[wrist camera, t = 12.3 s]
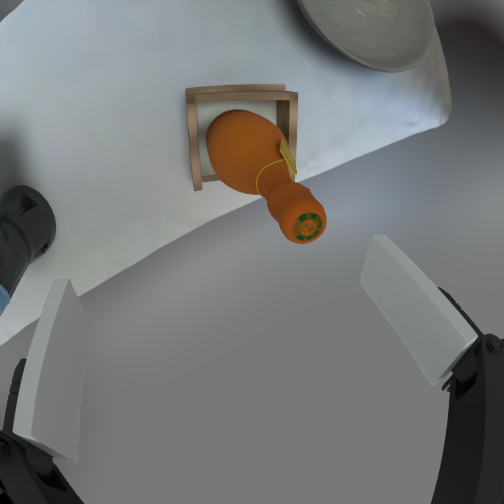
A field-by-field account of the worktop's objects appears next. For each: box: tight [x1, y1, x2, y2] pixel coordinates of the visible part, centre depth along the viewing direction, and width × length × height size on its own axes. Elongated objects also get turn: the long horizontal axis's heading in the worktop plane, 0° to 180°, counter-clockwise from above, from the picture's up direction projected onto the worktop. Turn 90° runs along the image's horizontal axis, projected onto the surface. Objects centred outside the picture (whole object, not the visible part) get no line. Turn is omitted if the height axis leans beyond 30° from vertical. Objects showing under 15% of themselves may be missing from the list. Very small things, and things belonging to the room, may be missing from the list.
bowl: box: [297, 0, 435, 72], centre depth 27 cm, size 26×26×10 cm
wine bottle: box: [206, 109, 326, 244], centre depth 30 cm, size 10×10×30 cm
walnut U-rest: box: [186, 85, 298, 191], centre depth 40 cm, size 16×16×7 cm
